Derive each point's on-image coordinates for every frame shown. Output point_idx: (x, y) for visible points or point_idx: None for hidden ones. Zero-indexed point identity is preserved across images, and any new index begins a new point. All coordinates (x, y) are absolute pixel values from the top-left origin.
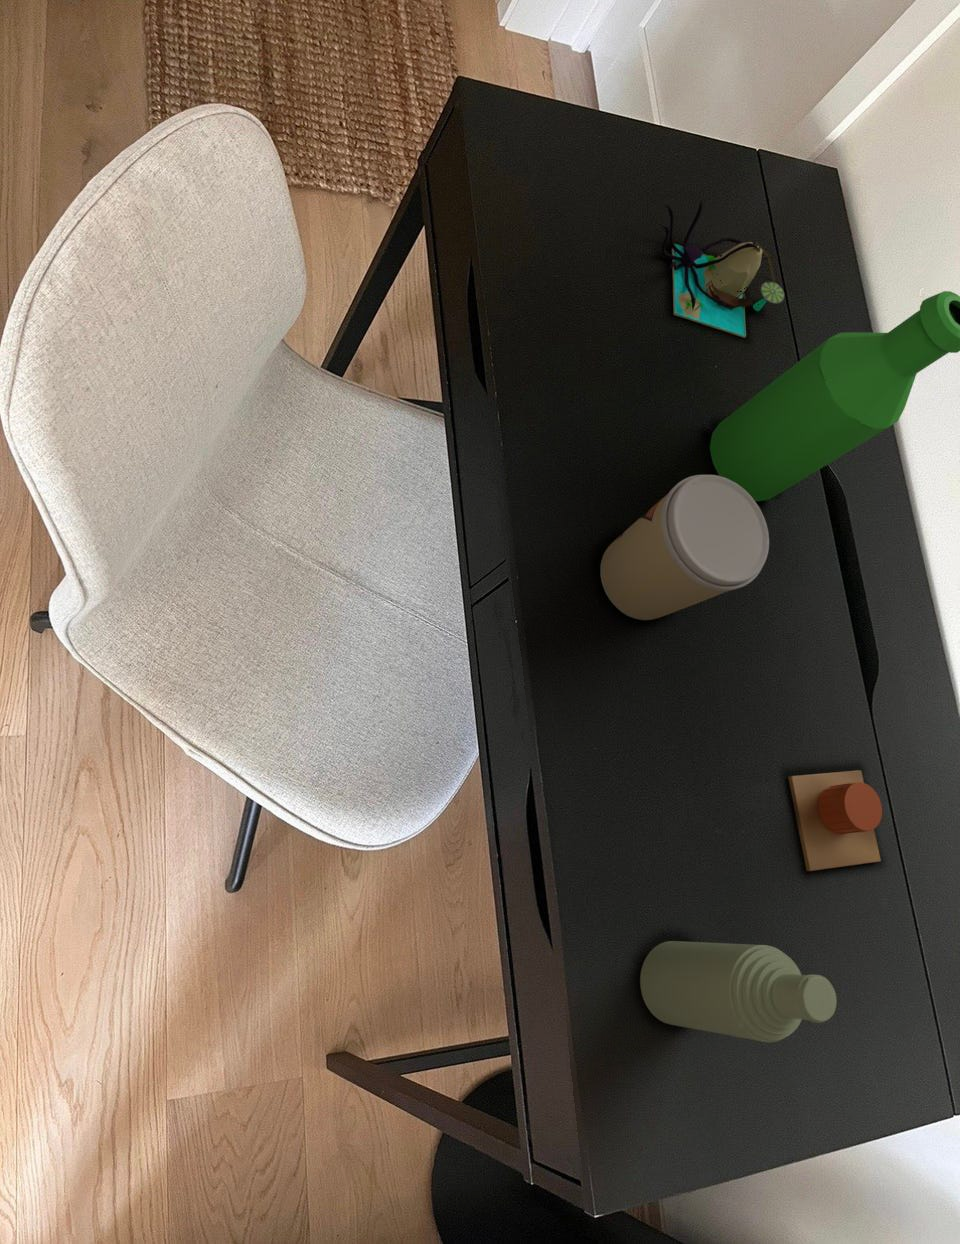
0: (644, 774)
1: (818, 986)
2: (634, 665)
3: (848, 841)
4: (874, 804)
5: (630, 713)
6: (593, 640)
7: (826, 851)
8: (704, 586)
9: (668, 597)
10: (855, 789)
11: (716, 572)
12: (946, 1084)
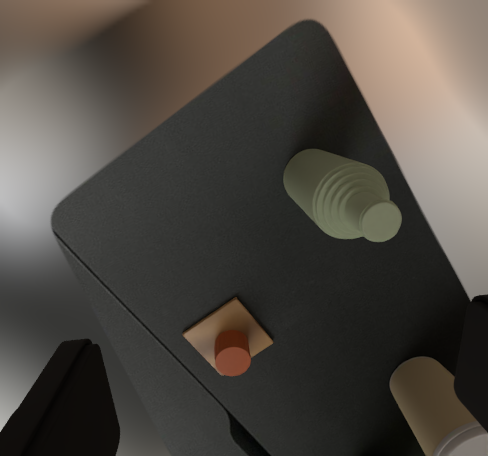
0: (375, 283)
1: (386, 231)
2: (402, 335)
3: (213, 331)
4: (224, 367)
5: (396, 309)
6: (433, 331)
7: (228, 316)
8: (472, 422)
9: (449, 391)
10: (243, 367)
11: (478, 437)
12: (53, 228)
